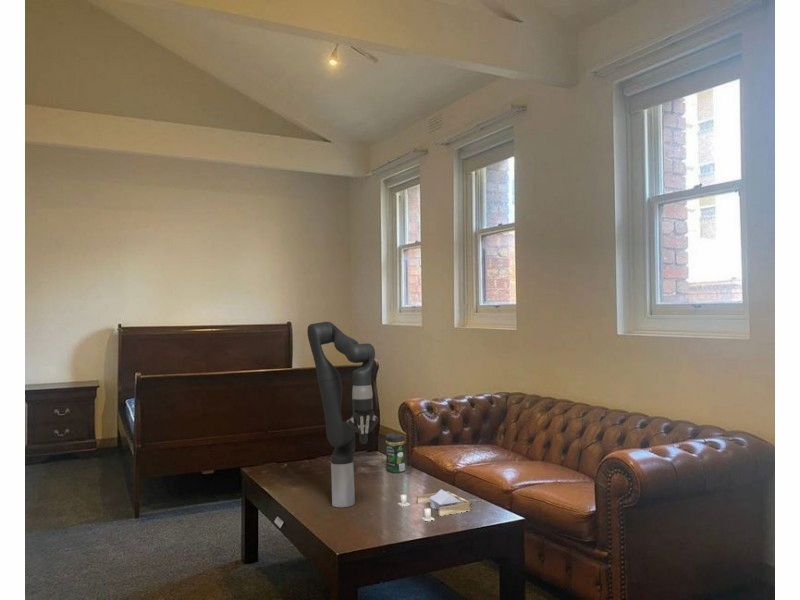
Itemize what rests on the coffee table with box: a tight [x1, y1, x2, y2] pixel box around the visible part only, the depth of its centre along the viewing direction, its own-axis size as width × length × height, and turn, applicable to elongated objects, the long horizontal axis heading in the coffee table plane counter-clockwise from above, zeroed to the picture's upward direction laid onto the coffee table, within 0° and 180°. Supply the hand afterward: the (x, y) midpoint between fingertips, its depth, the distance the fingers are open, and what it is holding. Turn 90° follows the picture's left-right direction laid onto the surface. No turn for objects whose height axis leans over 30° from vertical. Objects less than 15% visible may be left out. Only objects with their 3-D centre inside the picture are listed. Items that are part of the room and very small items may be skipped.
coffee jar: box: [385, 432, 406, 474], centre depth 304 cm, size 10×8×19 cm
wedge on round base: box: [429, 488, 461, 510], centre depth 244 cm, size 9×7×13 cm
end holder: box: [416, 490, 473, 517], centre depth 244 cm, size 19×14×3 cm
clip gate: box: [397, 493, 435, 522], centre depth 239 cm, size 25×4×4 cm, turn 25°
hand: (363, 443), depth 230 cm, fingers closed
